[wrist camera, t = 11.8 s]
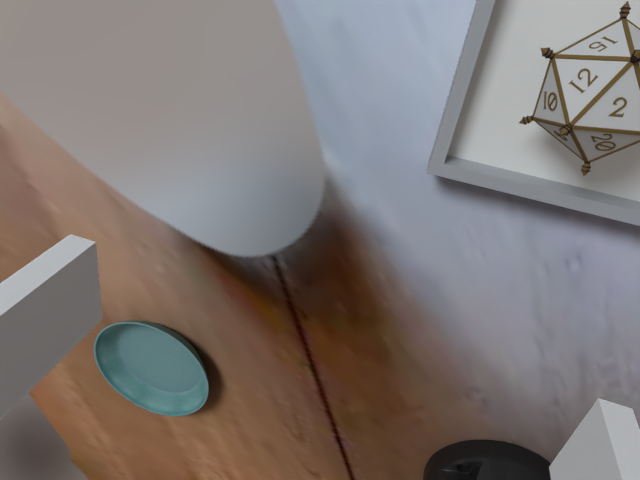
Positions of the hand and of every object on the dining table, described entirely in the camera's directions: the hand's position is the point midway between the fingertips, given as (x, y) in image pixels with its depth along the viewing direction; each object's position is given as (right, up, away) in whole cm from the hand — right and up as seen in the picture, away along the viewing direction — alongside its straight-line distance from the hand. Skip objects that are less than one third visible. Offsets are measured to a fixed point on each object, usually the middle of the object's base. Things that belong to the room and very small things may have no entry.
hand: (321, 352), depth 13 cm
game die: (+18, +14, +20) cm, 30 cm away
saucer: (-19, -11, +47) cm, 52 cm away
